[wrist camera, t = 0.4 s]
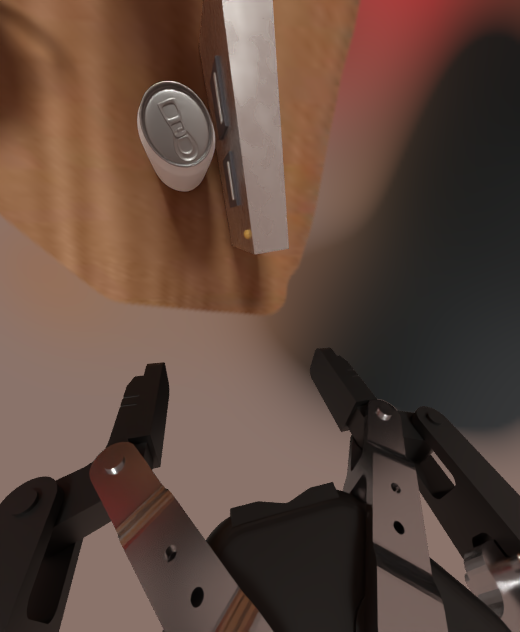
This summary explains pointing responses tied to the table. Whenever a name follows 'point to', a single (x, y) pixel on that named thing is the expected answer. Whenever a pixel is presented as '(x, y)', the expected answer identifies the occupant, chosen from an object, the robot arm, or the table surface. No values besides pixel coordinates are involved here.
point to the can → (176, 134)
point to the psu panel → (246, 119)
